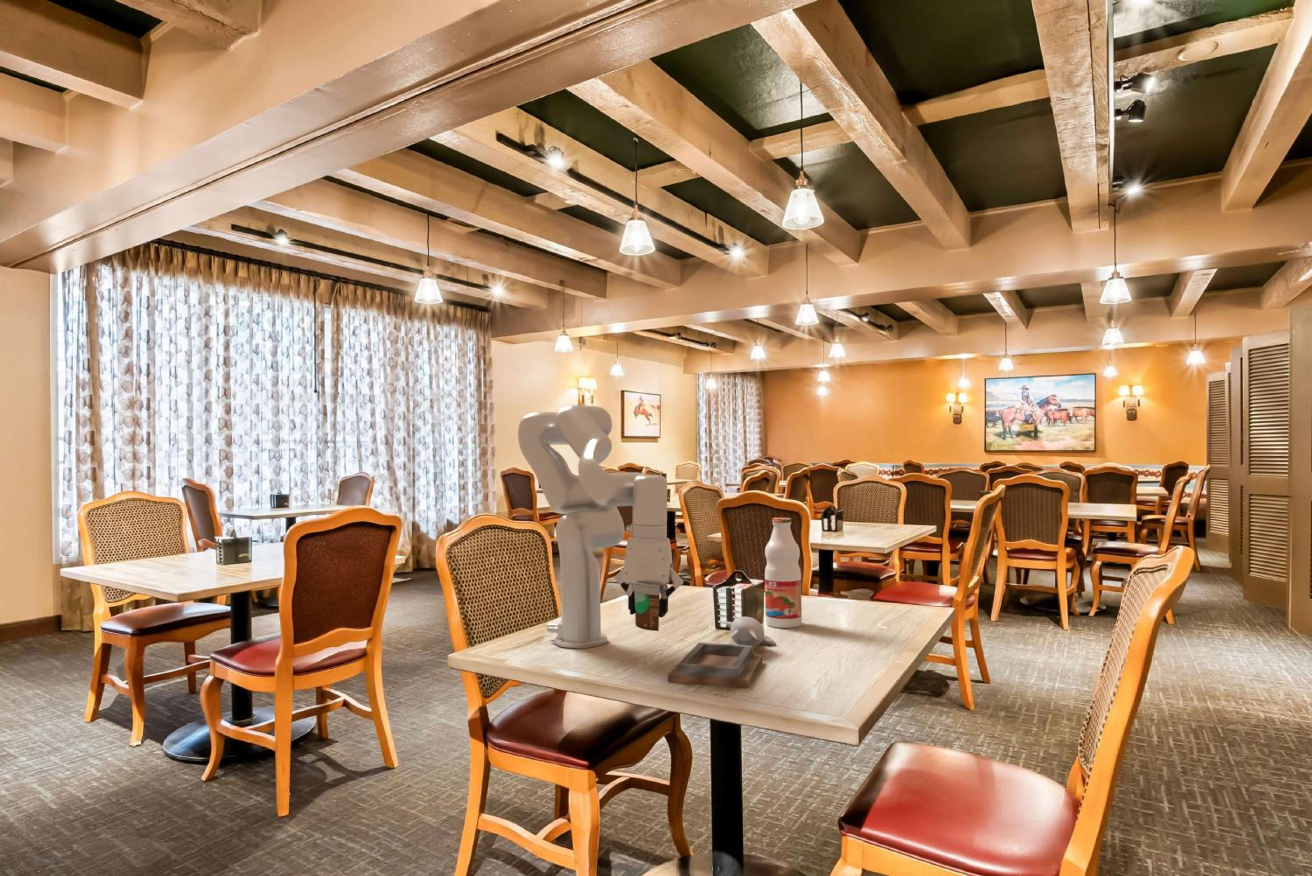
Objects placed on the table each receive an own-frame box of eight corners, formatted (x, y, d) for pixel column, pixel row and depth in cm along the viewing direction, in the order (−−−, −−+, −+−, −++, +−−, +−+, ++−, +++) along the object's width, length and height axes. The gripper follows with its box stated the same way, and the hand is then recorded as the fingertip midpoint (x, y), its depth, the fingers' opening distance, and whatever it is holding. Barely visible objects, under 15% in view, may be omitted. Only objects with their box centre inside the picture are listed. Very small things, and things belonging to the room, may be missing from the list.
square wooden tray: (667, 682, 144) (667, 664, 144) (690, 657, 161) (690, 641, 161) (748, 688, 139) (748, 669, 139) (762, 662, 156) (762, 646, 157)
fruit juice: (809, 624, 191) (807, 518, 192) (785, 630, 185) (783, 520, 186) (781, 619, 198) (779, 516, 199) (758, 624, 192) (756, 518, 193)
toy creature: (784, 625, 177) (775, 631, 158) (773, 654, 177) (763, 664, 158) (735, 606, 181) (721, 609, 162) (725, 634, 180) (710, 641, 161)
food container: (630, 616, 165) (632, 572, 165) (657, 617, 165) (659, 573, 165) (629, 632, 153) (630, 584, 153) (658, 633, 153) (660, 585, 153)
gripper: (606, 531, 157) (604, 615, 157) (683, 536, 152) (681, 622, 152) (617, 527, 164) (616, 607, 165) (692, 532, 159) (690, 614, 160)
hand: (647, 613), depth 159 cm, fingers closed on food container, 5 cm apart
